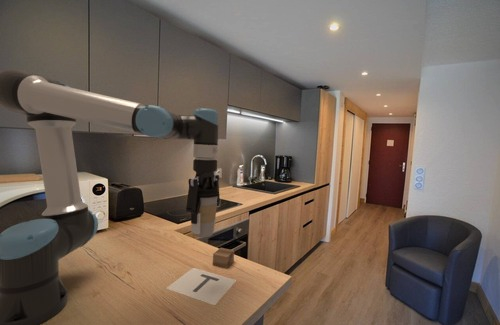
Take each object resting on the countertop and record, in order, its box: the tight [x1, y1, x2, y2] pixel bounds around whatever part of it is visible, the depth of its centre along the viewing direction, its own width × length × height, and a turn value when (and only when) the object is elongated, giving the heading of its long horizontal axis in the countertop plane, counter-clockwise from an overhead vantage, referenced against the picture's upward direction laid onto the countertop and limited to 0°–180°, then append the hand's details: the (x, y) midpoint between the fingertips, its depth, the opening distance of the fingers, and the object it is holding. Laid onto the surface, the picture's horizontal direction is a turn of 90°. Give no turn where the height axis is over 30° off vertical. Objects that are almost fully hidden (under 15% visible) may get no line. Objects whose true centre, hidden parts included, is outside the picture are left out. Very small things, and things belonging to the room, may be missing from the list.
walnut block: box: [212, 247, 235, 270], centre depth 90 cm, size 6×6×5 cm
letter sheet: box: [165, 267, 237, 306], centre depth 76 cm, size 14×18×1 cm
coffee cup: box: [194, 187, 220, 238], centre depth 75 cm, size 9×9×15 cm
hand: (203, 228), depth 75 cm, fingers closed on coffee cup, 8 cm apart
